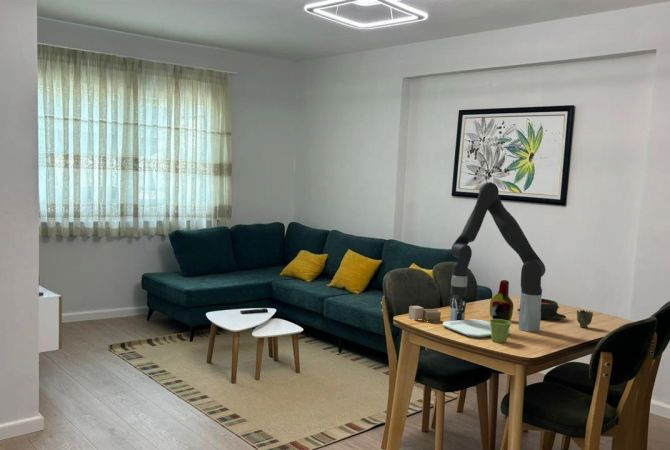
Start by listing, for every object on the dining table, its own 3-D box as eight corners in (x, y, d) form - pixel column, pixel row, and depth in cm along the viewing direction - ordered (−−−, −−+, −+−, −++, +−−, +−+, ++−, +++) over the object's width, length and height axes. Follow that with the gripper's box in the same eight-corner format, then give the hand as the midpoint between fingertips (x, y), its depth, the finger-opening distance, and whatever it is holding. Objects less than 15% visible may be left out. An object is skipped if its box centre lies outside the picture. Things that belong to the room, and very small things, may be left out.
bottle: (514, 320, 303) (517, 281, 302) (508, 322, 299) (511, 282, 297) (493, 316, 312) (496, 277, 310) (486, 317, 307) (489, 278, 305)
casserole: (572, 319, 314) (573, 303, 314) (555, 324, 301) (557, 307, 301) (527, 310, 332) (528, 294, 331) (510, 314, 319) (511, 298, 318)
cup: (583, 325, 302) (585, 309, 301) (595, 329, 295) (596, 312, 295) (572, 325, 299) (573, 309, 299) (583, 329, 292) (584, 313, 292)
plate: (437, 326, 284) (437, 321, 284) (478, 322, 296) (478, 318, 296) (472, 340, 262) (472, 335, 262) (514, 336, 274) (515, 331, 274)
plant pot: (484, 341, 261) (486, 321, 261) (491, 336, 269) (493, 317, 269) (506, 345, 256) (507, 325, 256) (512, 341, 264) (514, 321, 263)
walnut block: (440, 322, 292) (440, 312, 291) (426, 322, 290) (427, 312, 290) (434, 319, 299) (435, 309, 298) (421, 319, 297) (422, 309, 297)
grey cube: (464, 322, 293) (464, 310, 292) (454, 322, 292) (455, 310, 291) (459, 319, 297) (460, 307, 297) (450, 319, 296) (451, 307, 296)
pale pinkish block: (423, 320, 295) (423, 307, 294) (414, 320, 292) (415, 308, 292) (417, 317, 299) (417, 305, 298) (408, 318, 297) (409, 306, 296)
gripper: (472, 287, 287) (470, 323, 288) (460, 282, 301) (457, 316, 302) (457, 287, 285) (455, 323, 287) (445, 282, 299) (443, 315, 301)
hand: (456, 319), depth 294 cm, fingers closed on grey cube, 5 cm apart
